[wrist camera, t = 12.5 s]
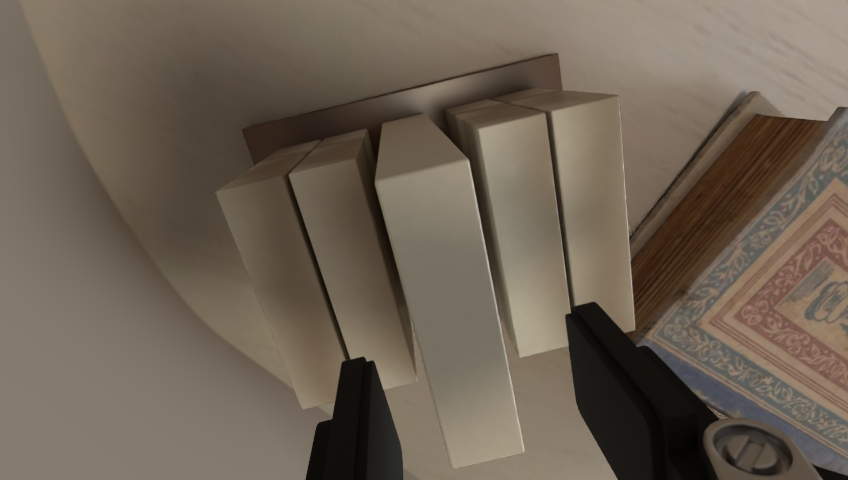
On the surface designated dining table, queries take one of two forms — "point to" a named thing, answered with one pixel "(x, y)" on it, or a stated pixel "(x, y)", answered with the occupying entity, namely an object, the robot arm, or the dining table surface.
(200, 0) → the dining table surface
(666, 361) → the book
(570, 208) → the white books
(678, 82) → the dining table surface
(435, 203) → the white book
